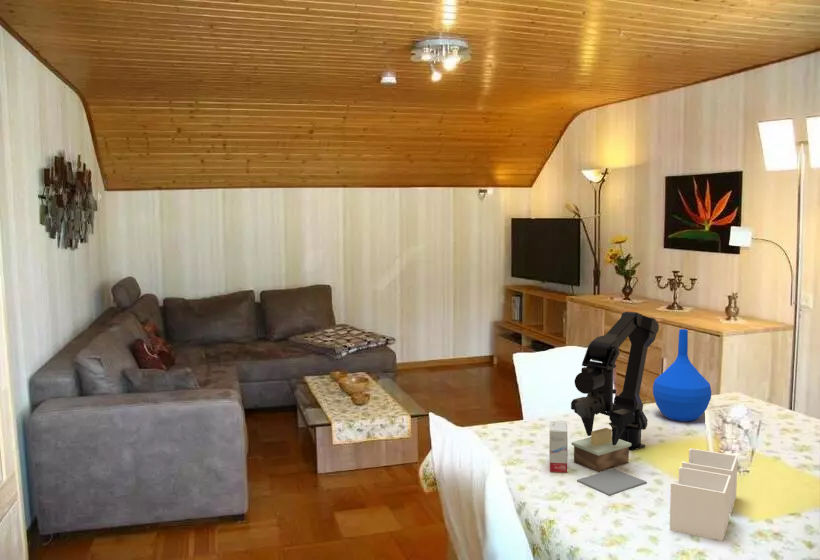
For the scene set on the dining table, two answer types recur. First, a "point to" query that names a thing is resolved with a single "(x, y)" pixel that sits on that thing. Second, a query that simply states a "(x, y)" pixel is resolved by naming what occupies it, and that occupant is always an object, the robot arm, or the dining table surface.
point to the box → (601, 459)
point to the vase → (682, 387)
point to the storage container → (704, 494)
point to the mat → (611, 481)
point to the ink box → (558, 447)
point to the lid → (600, 442)
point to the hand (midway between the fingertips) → (601, 440)
